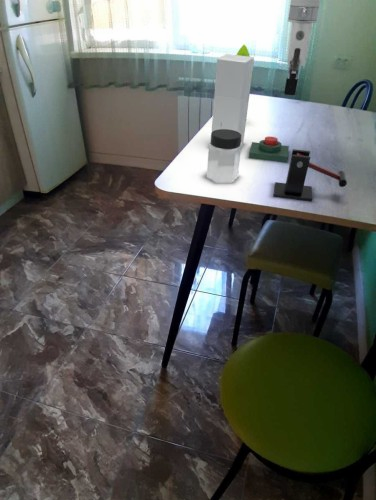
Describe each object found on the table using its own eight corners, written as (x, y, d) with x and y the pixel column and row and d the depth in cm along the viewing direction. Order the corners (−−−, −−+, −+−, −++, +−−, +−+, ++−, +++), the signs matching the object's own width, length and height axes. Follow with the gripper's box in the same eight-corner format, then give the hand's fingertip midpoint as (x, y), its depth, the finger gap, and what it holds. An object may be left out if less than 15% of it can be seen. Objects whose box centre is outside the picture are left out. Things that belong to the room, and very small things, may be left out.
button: (276, 143, 130) (278, 137, 129) (276, 147, 127) (277, 141, 126) (264, 141, 131) (265, 135, 130) (263, 145, 128) (264, 140, 127)
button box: (287, 152, 135) (290, 140, 132) (286, 164, 127) (289, 150, 125) (251, 148, 136) (252, 136, 133) (248, 159, 129) (250, 146, 126)
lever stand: (310, 190, 114) (320, 150, 106) (311, 203, 108) (322, 161, 100) (274, 186, 115) (282, 146, 107) (273, 198, 109) (281, 156, 102)
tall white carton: (209, 149, 134) (216, 58, 117) (218, 141, 140) (226, 53, 123) (235, 153, 132) (246, 62, 115) (243, 145, 138) (254, 57, 121)
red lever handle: (341, 179, 109) (346, 171, 107) (343, 189, 105) (348, 180, 103) (292, 158, 108) (297, 149, 106) (292, 167, 104) (297, 158, 102)
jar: (243, 181, 116) (249, 136, 108) (220, 187, 113) (225, 141, 105) (223, 170, 122) (227, 126, 113) (201, 175, 118) (204, 131, 110)
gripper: (318, 18, 101) (302, 101, 114) (316, 12, 112) (302, 89, 125) (288, 17, 102) (275, 99, 115) (288, 11, 113) (277, 87, 126)
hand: (289, 94), depth 120 cm, fingers closed
